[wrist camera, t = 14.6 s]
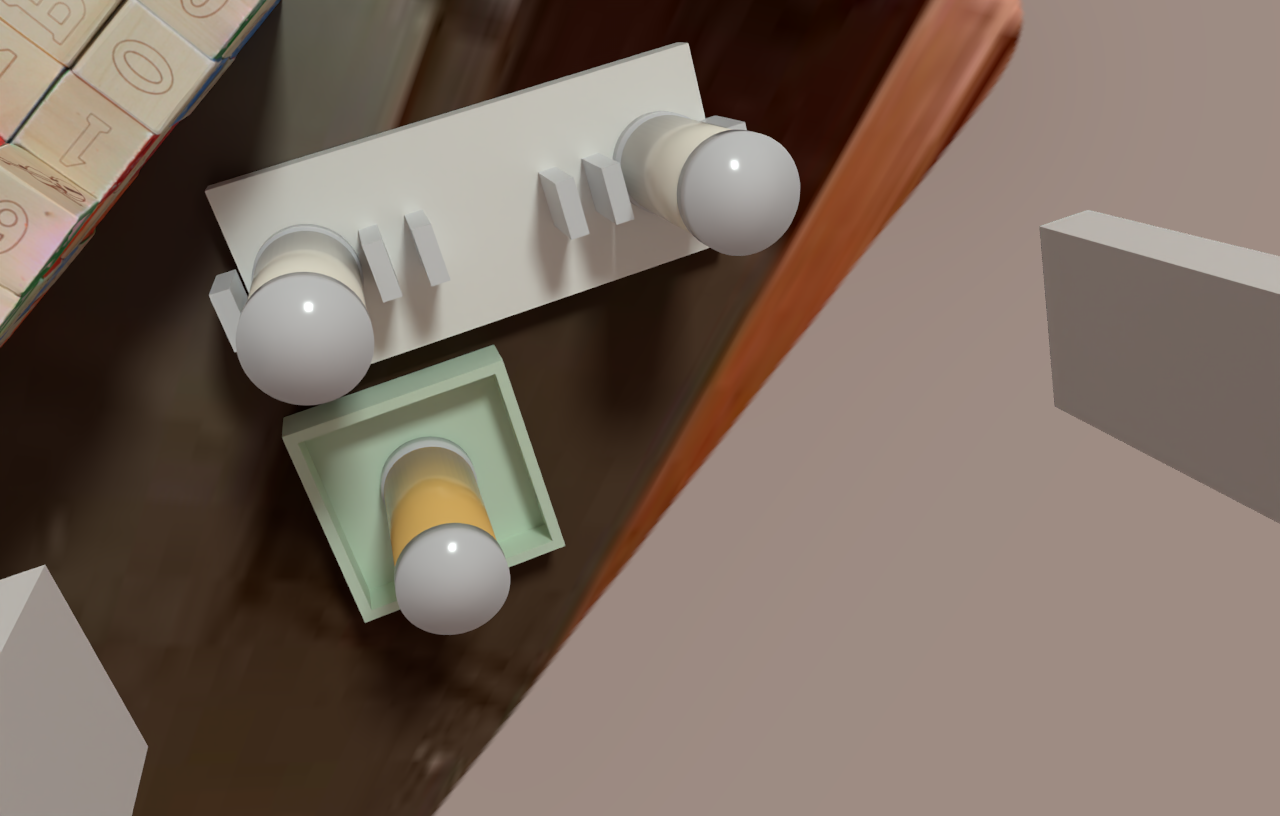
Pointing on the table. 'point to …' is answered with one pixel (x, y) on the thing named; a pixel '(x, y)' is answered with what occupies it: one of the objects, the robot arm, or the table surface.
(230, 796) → the table surface
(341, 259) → the ball
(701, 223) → the fuse cream far
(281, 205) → the fuse panel
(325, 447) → the tray
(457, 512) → the fuse amber
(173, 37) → the stack of blocks
